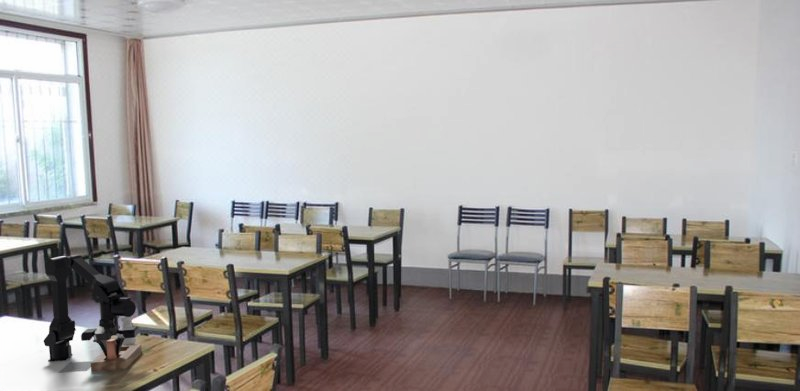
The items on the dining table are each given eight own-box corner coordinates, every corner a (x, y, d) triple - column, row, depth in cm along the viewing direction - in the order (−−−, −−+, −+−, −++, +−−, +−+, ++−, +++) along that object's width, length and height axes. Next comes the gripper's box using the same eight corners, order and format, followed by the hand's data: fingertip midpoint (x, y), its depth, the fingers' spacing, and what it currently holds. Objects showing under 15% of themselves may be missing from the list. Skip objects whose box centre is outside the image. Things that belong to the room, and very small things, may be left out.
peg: (106, 366, 225) (104, 342, 224) (109, 363, 228) (108, 339, 227) (115, 365, 225) (113, 341, 224) (118, 362, 228) (117, 338, 227)
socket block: (91, 372, 222) (90, 362, 221) (110, 354, 239) (109, 346, 239) (125, 369, 223) (125, 360, 222) (141, 352, 240) (141, 344, 240)
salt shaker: (130, 349, 245) (128, 317, 244) (117, 348, 246) (115, 317, 245) (139, 344, 251) (137, 313, 250) (126, 343, 252) (124, 312, 251)
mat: (57, 373, 221) (57, 372, 221) (69, 363, 231) (69, 362, 231) (86, 371, 222) (86, 370, 222) (97, 361, 232) (97, 360, 232)
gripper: (72, 322, 216) (76, 365, 217) (128, 319, 218) (131, 362, 219) (85, 313, 227) (89, 354, 228) (138, 310, 229) (141, 351, 230)
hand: (112, 356), depth 226 cm, fingers open, 4 cm apart
